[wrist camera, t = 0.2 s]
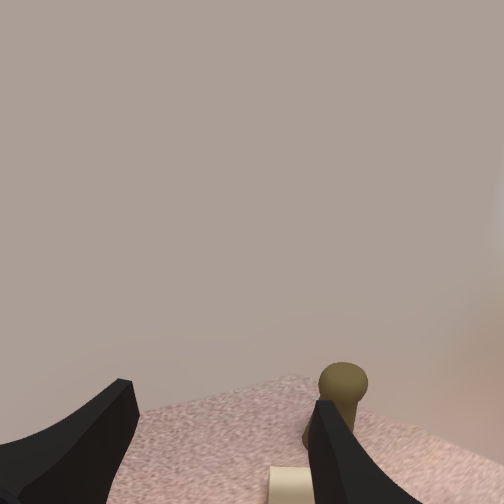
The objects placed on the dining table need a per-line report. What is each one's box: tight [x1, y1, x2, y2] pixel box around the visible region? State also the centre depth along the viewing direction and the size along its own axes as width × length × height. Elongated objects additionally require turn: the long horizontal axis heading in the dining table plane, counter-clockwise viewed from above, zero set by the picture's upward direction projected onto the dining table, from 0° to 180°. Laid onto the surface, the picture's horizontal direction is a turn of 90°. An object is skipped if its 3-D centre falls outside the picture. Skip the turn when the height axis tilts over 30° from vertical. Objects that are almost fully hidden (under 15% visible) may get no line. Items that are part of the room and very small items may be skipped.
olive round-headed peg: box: [302, 362, 368, 450], centre depth 31 cm, size 6×6×11 cm
